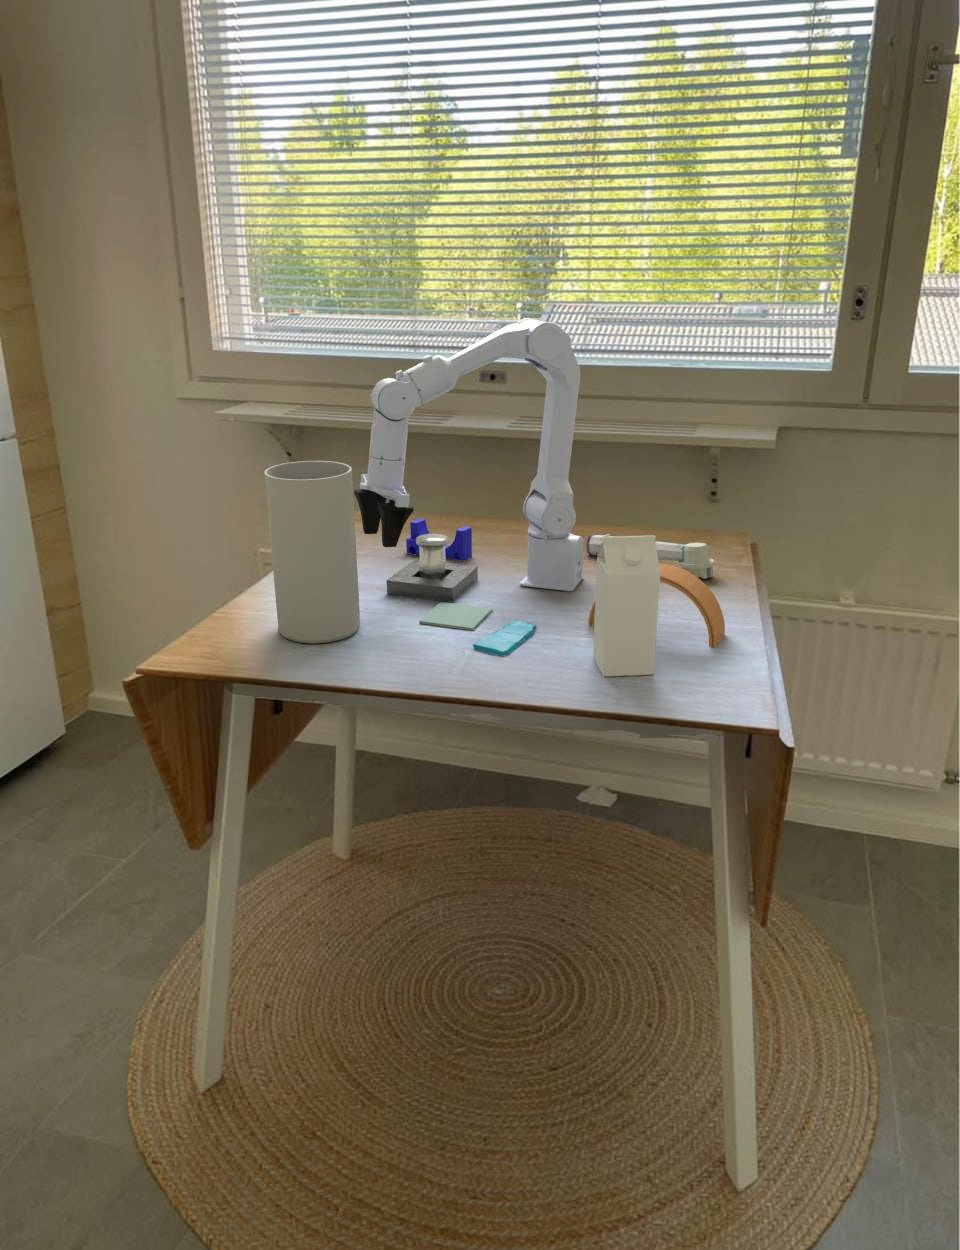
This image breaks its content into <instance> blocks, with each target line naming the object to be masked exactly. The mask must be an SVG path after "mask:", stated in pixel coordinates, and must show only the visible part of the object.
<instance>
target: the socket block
mask: <svg viewBox="0 0 960 1250" xmlns="http://www.w3.org/2000/svg"><path fill="white" fill-rule="evenodd" d="M445 564H446V577H445V578H444V579H442V580H438V579H429V578H420V559H414V560H413V561H411V562H409V563H408V564H407V565H406V566H404V567H402V569H400V570H399V571H397V572H396V573H394V574H393V575H391V576H390V577H389V578H387V579H386V580H385V581H386V594H387V595H390V594H394V595H393V596H398V595H400V596H399V597H406V598H415V599H423V600H424V599H425V600H431V601H440V602H445V603H454V602H455V601H456V600H457V599H458V598H459V597H460V596H462V595H463V594H464V593H465V592H466V591H467V590H468V589H469V588H470V587H472V586H473V585H474V584H475V583H476V582H477V581H478V580H479V579H478V574H479V573H478V570H479V569H478V568H479V567H478V566H477V565H469V564H459V563H452V562H451V563H450V562H445Z"/></svg>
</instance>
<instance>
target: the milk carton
mask: <svg viewBox="0 0 960 1250" xmlns="http://www.w3.org/2000/svg"><path fill="white" fill-rule="evenodd" d="M656 541H657V536H656V535H627V536H626V535H625V536H615V537H603V546H602V548H601V550H600V552H599V555H598V556H596V557H597V558H596V578H595V579H596V580H595V601H594V602H595V622H594V626H593V629H594V630H593V648H592V649H593V651H592V657H593V659H594V660H595V662H596V664H597V666H598V669H599V671H600V672H601V675H602V677H624V676H625V677H627V676H647V675H649V676H650V675H654V674H655V673H654V670H655V669H654V668H655V658H656V644H657V641H656V640H657V630H658V629H657V628H658V627H657V625H658V613H659V612H658V611H659V600H660V598H659V597H660V596H659V595H660V583H661V582H660V566H659V563H660V562H659V561H660V560H658V555H657V550H656V544H655V542H656Z"/></svg>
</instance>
